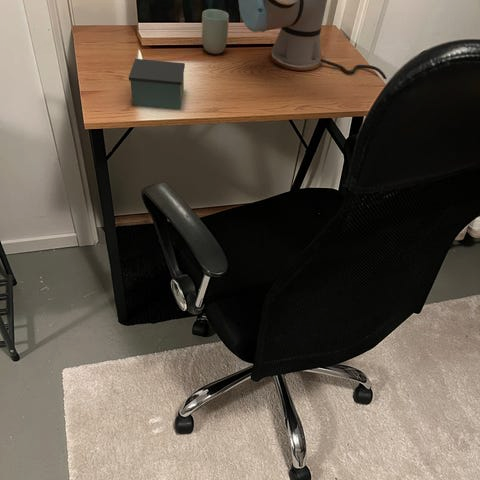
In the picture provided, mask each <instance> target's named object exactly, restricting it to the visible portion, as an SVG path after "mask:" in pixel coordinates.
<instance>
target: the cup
mask: <svg viewBox="0 0 480 480" xmlns="http://www.w3.org/2000/svg"><path fill="white" fill-rule="evenodd" d="M229 24H230V14H229V13H228V12H227V11H225V10H222V9H216V8H209V9H205V10H203V11H202V13H201V41H202V42H201V43H202V47H203V49H204V50H205V51H206V53H208V54H211V55H212V54H213V55H218V54H222V53H223V52H224V51H225V50H226V47H227V45H228V44H227V43H228V37H229Z"/></svg>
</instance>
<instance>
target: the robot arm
mask: <svg viewBox="0 0 480 480" xmlns="http://www.w3.org/2000/svg"><path fill="white" fill-rule="evenodd" d="M237 2H238V9H239V14H240V17H241V20H242V22H243V24H244V25H245V27H246V28H247V29H248V30H249V31H251V32H253V33H258V32H260V33H264V32H268V31H271V30H277V29H280V31H279V32H278V35H277V37H276V39H275V42H274V44H273V46H272V49H271V52H270V53H271V54H270V60H271V61H272V62H273V63H274V64H275V65H276V66H279V67H281V68H284V69H286V70H290V71H296V72H309V71H313V70H316V69H318V68H319V67H320V66H321V63H323V64H327V65H329V66H331V67H335V68H337V69H340V70H342V71H343V72H344V73H345V74H348V75H349V74H354V73H355V72H356V70H357V69H369V70H373V71H376V72H377V73H379V74H380V75H381V77H382V79H383V80H387V75H386V74H385V73H384V71H382V70H381V69H380V68H379V67H377V66H374V65H370V64H356V65H355V66H354V67H353V69H352V70H350V69H346V68H345V67H344V66H342V65H341V64H338V63H335V62H333V61H330V60H326V59H323V58H322V45H321V31H322V27H323V22H324V17H325V12H326V7H327V3H328V0H238V1H237Z"/></svg>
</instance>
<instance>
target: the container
mask: <svg viewBox="0 0 480 480" xmlns="http://www.w3.org/2000/svg"><path fill="white" fill-rule="evenodd" d="M185 67H186V63H185V62H177V61H166V60H155V59H144V58H134V61H133V63H132V67H131V69H130V72H129V76H128V81H129V82H130V91H131V99H132V100H131V102H132V106H133V107H134V106H135V107H145V108H146V107H149V108H158V109H170V110H182V103H183V98H184V92H185V82H184V81H185V79H184V78H185V76H184V75H185V74H184V73H185Z"/></svg>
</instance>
